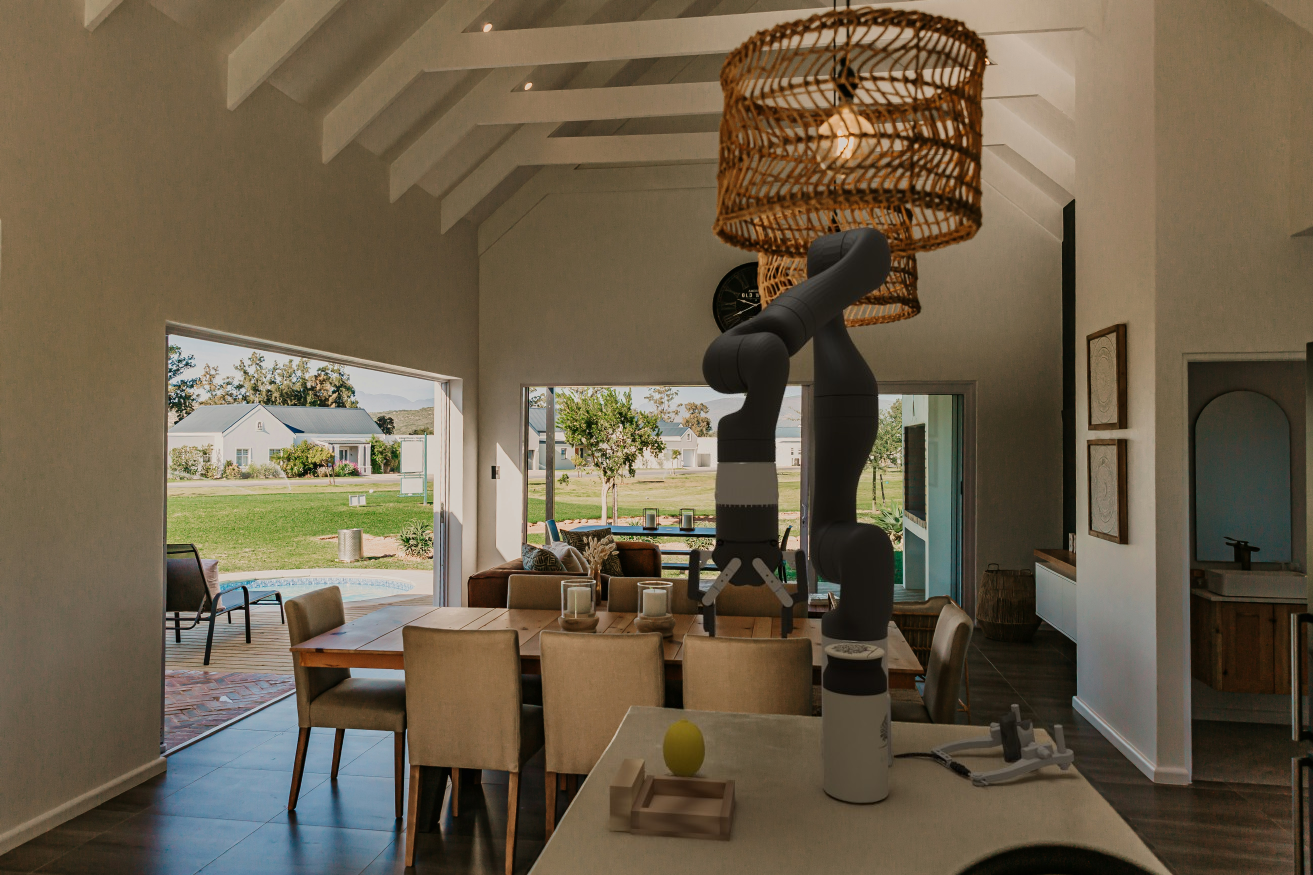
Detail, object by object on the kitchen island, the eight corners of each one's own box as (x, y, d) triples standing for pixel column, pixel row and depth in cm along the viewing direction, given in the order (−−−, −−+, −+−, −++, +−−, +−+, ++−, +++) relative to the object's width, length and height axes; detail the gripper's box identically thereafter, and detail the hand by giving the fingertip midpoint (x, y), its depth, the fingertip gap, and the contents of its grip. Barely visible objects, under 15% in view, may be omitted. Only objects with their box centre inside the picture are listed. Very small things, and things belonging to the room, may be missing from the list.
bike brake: (1020, 741, 123) (896, 772, 119) (1013, 696, 123) (889, 725, 119) (1085, 777, 110) (948, 813, 106) (1078, 725, 110) (940, 760, 106)
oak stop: (644, 800, 103) (644, 759, 104) (631, 831, 95) (631, 786, 95) (624, 799, 104) (624, 758, 104) (609, 830, 95) (609, 785, 95)
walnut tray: (735, 804, 103) (734, 780, 103) (728, 844, 92) (728, 816, 92) (647, 798, 105) (647, 774, 105) (630, 837, 94) (630, 810, 94)
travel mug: (812, 794, 105) (811, 650, 106) (840, 776, 112) (838, 640, 112) (873, 810, 100) (871, 659, 101) (898, 790, 107) (896, 647, 107)
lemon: (701, 789, 107) (701, 726, 107) (659, 786, 108) (659, 723, 108) (707, 773, 112) (707, 713, 113) (667, 770, 114) (667, 711, 114)
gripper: (805, 499, 103) (807, 632, 103) (690, 499, 105) (691, 629, 104) (808, 502, 96) (809, 645, 95) (684, 501, 98) (685, 642, 97)
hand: (747, 636), depth 100 cm, fingers open, 8 cm apart
